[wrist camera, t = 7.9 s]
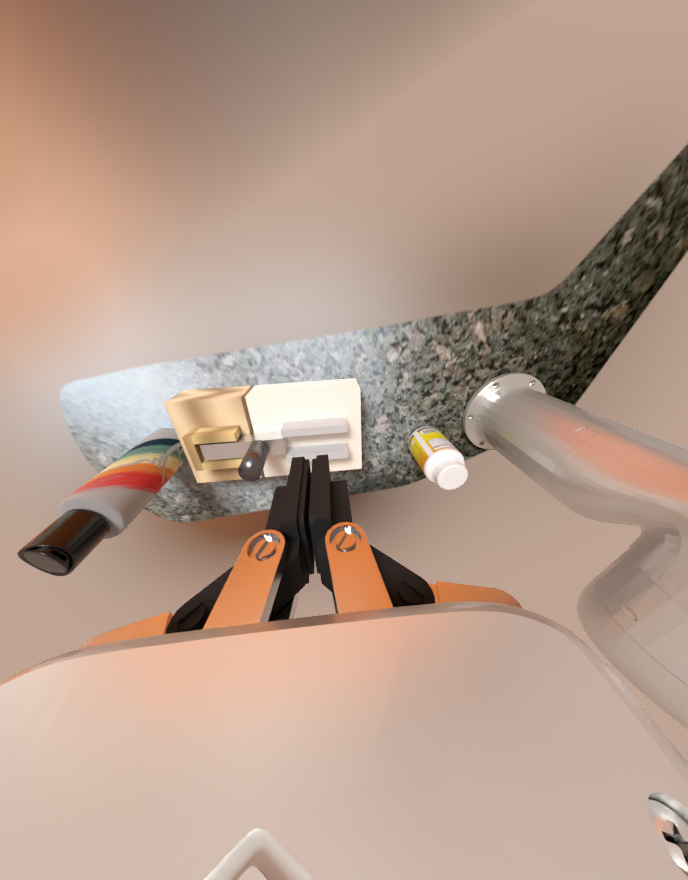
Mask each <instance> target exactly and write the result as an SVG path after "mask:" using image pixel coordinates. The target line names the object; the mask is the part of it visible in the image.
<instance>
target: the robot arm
mask: <svg viewBox="0 0 688 880" xmlns="http://www.w3.org/2000/svg"><path fill="white" fill-rule="evenodd" d="M462 425H463V431H464V433H465V435H466V437H467V438H468V439H469V440H470V441H471V442H472V443H473V444H474V445H476V446H478V447H480V448H483V449H490V450H494V449H496V450H497V451H499V452H500V453H501V454H502V455H504V456H505V457H506V458H507V459H508V460H510V461H511V462H512V463H513V464H515V465H516V466H517V467H518V468H519V469H521V470H522V471H523V472H524V473H525V474H527V475H528V476H529V477H530V478H531V479H533V480H534V481H535V482H536V483H538V484H539V485H540V486H541V487H542V488H544V489H545V490H546V491H547V492H549V493H550V494H551V495H552V496H553V497H555V498H556V499H557V500H558V501H560V502H561V503H562V504H563V505H565V506H566V507H567V508H569V509H570V510H572V511H573V512H575V513H577V514H579V515H581V516H584V517H586V518H589V519H592V520H596V521H600V522H606V523H615V524H625V525H637V526H640V527H641V529H642V531H641V535H640V536H639V538H637V539H636V540H635V541H634V542H633V543H632V545H630V548H629V549H628V550H627V551H626V552H624V553H623V554H622V555H621V556H620V557H619V558H618V559H616V560H615V561H614V562H613V563H612V564H611V565H609V566H608V567H607V568H606V569H605V570H604V571H603V572H602V573H600V574H599V575H598V576H597V577H596V578H594V579H593V580H592V581H591V582H590V583H589V584H588V585H587V586H586V587H585V588H584V589H583V591H582V592H581V594H580V596H579V598H578V602H577V612H578V617H579V619H580V622H581V624H582V626H583V628H584V630H585V632H586V633H587V635H588V636H589V638H590V639H591V641H592V642H593V643H594V645H595V646H596V647H597V648H598V650H599V651H600V652H601V653H602V654H603V655H604V657H605V658H606V659H607V660H608V661H609V662H610V663H611V664H612V665H613V666H614V667H615V668H616V669H617V670H618V671H619V672H620V673H621V674H622V675H623V676H624V677H625V678H627V679H628V680H629V681H630V682H631V683H632V684H633V685H634V686H635V687H637V688H638V689H639V690H640V691H641V692H642V693H643V694H645V695H646V696H647V697H648V698H649V699H650V700H652V701H653V702H654V703H655V704H656V705H658V706H659V707H660V708H661V709H663V710H664V711H665V712H666V713H668V714H669V715H670V716H671V717H672V718H674V719H675V720H676V721H678V722H679V723H680V724H681V725H682V726H683V727H685V728H686V729H687V730H688V449H685V448H683V447H680V446H677V445H674V444H672V443H669V442H666V441H663V440H661V439H658V438H656V437H653V436H651V435H648V434H646V433H643V432H641V431H638V430H635V429H633V428H630V427H628V426H625V425H622V424H620V423H617V422H615V421H612V420H610V419H607V418H605V417H602V416H600V415H597V414H594V413H592V412H590V411H587V410H584V409H582V408H579V407H577V406H574V405H572V404H571V403H567V402H564V401H562V400H559V399H557V398H554V397H551V396H549V395H546V392H545V388H544V387H543V385H542V383H541V382H540V381H539V380H538V379H536V378H535V377H533V376H531V375H528V374H525V373H518V372H515V373H507V374H503V375H500V376H497V377H495V378H493V379H491V380H490V381H488V382H486V383H485V384H484V385H483V386H481V387H480V388H479V389H478V390H477V391H476V392H475V393H474V395H473V396H472V397H471V399H470V400H469V402H468V403H467V406H466V408H465V410H464V414H463V421H462ZM314 555H315V561H316V566H317V572H318V573H320V575H321V581H322V584H323V585H324V586H326V587H327V588H328V589H329V590H330V591H331V592H332V596H333V602H334V607H335V613H336V614H331V615H322V616H313V617H305V618H296V619H294V615H295V610H296V606H297V601H298V592H299V591H300V590H301V589H302V588H303V587H304V586H305V584H307V583H309V574H314ZM0 880H688V762H687V761H686V760H685V758H684V757H683V756H682V755H681V754H680V752H679V751H678V750H677V749H676V747H675V746H674V745H673V744H672V743H671V741H670V740H669V739H668V737H667V736H666V735H665V734H664V733H663V731H662V730H661V729H660V728H659V726H658V725H657V724H656V723H655V721H654V720H653V719H652V718H651V717H650V715H649V714H648V713H647V712H646V710H645V709H644V708H643V707H642V706H641V704H640V703H639V702H638V701H637V700H636V699H635V697H634V696H633V695H632V694H631V693H630V692H629V690H628V689H627V688H626V687H625V686H624V685H623V683H622V682H621V681H620V680H619V679H618V678H617V677H616V675H615V674H614V673H613V672H612V671H611V670H610V669H609V668H608V667H607V665H606V664H605V663H604V662H603V661H602V660H601V659H600V658H599V657H598V656H597V655H596V654H595V653H594V652H593V651H592V650H591V649H590V648H589V647H588V646H587V645H586V644H585V643H584V642H583V641H582V640H581V639H580V638H579V637H577V636H576V635H575V634H573V633H572V632H571V631H570V630H568V629H567V628H565V627H564V626H562V625H560V624H559V623H557V622H555V621H553V620H551V619H548V618H546V617H544V616H541V615H539V614H536V613H534V612H531V611H528V610H525V609H523V608H522V607H521V605H520V603H519V602H518V601H517V600H516V599H515V598H514V597H512V596H511V595H510V594H508V593H506V592H505V591H503V590H499V589H496V588H489V587H481V586H473V585H465V584H456V583H449V582H440V581H437V582H436V584H431V583H427V582H426V581H425V580H424V579H422V578H421V577H420V576H418V575H417V574H415V573H413V572H412V571H410V570H409V569H407V568H405V567H404V566H402V565H401V564H399V563H398V562H396V561H395V560H393V559H392V558H390V557H388V556H387V555H385V554H384V553H382V552H380V551H379V550H377V549H376V548H374V547H373V546H371V545H370V544H369V542H368V540H367V537H366V535H365V532H364V531H363V529H362V528H361V527H360V526H358V525H356V524H354V523H352V517H351V510H350V503H349V495H348V488H347V481H346V480H342V481H331V478H330V468H329V458H328V454H326V455H317V457H316V459H312V471H311V468H310V462H309V459H305V457H293V458H292V461H291V466H290V471H289V477H288V482H287V486H278V487H276V489H275V493H274V497H273V501H272V505H271V509H270V513H269V517H268V521H267V525H266V529H265V530H264V531H261V532H258V533H257V534H255V535H253V536H252V537H251V538H250V539H249V540H248V541H247V542H246V544H245V545H244V547H243V549H242V551H241V553H240V555H239V557H238V559H237V561H236V563H235V565H234V566H233V567H231V568H230V569H229V570H227V571H226V572H225V573H224V574H222V575H221V576H220V577H218V578H217V579H216V580H215V581H214V582H212V583H211V584H209V585H208V586H207V587H206V588H204V589H203V590H202V591H201V592H199V593H198V594H196V595H195V596H194V597H193V598H191V599H190V600H189V601H188V602H186V603H185V604H184V605H183V606H182V607H181V608H179V609H178V610H177V612H176V613H173V614H171V612H170V611H168V612H165V613H162V614H159V615H156V616H153V617H150V618H147V619H144V620H141V621H138V622H135V623H132V624H129V625H126V626H123V627H120V628H117V629H114V630H111V631H108V632H105V633H102V634H100V635H98V636H96V637H94V638H92V639H91V640H89V641H88V642H87V643H85V644H84V645H82V646H81V647H80V648H79V649H78V650H75V651H71V652H68V653H65V654H63V655H60V656H57V657H54V658H51V659H49V660H46V661H43V662H41V663H39V664H37V665H35V666H32V667H30V668H28V669H26V670H24V671H22V672H20V673H17V674H15V675H13V676H11V677H9V678H8V679H6V680H4V681H2V682H0Z"/></svg>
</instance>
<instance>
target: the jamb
mask: <svg viewBox="0 0 688 880" xmlns="http://www.w3.org/2000/svg"><path fill="white" fill-rule="evenodd" d="M251 389H252V387H251V386H240V387H226V388H211V389H197V390H184V391H183V392H181V393H179V394H178V395H176V396H174V397H173V398H171V399H170V400H168V401H166V402H165V403H164V405H165V407H166V409H167V412H168V414H169V417H170V419H171V421H172V424H173V426H174V428H175V431H176V433H177V436H178V438H179V440H180V443H181V445H182V447H183V450H184V452H185V454H186V457H187V459H188V462H189V464H190V466H191V469H192V471H193V473H194V476H195V478H196V481H197V483H205V482H216V481H228V480H239V479H242V478H241V477H240V476H239V474H238V468H239V466H240V464H241V462H242V460H243V458H244V457H243V458H232V459H220V460H208V461H205V459H204V456H203V454H202V451H201V448H200V446H199V445H200V444H206V443H219V442H231V441H237V439H238V437H239V436H240V435H247V434H254V431H253V427H252V423H251V419H250V415H249V411H248V407H247V403H246V399H245V397H246V395H247V394H248V393H249V392H250V391H251ZM263 472H264V471H262V473H261V476H260V478H262V475H263Z"/></svg>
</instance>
